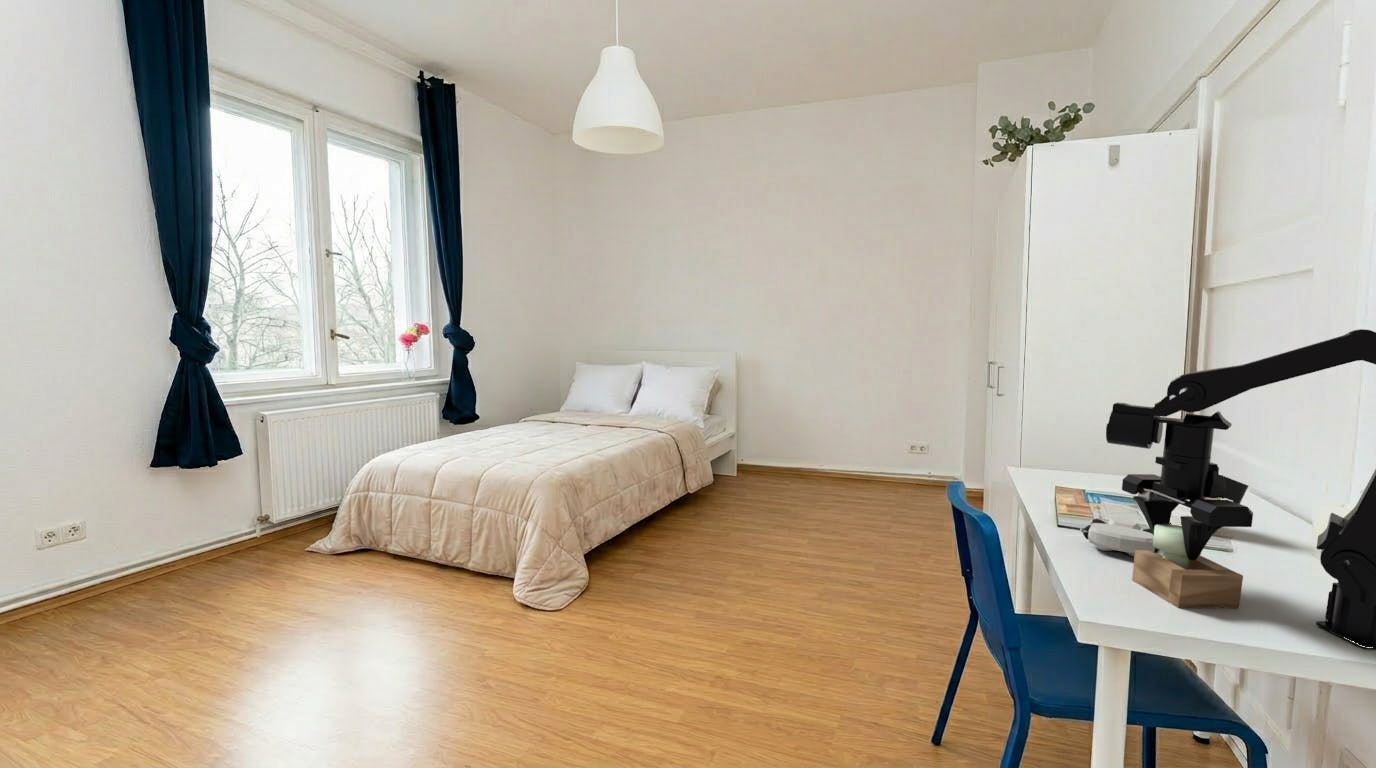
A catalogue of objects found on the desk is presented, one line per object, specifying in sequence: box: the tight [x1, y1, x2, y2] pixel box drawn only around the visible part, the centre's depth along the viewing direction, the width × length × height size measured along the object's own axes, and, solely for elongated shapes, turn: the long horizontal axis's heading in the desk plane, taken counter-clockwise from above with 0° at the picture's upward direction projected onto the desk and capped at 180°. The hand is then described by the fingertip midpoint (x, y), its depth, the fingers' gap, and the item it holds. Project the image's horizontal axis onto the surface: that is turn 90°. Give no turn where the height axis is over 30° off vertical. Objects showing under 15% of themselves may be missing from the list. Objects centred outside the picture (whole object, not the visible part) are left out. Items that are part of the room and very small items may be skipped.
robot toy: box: [1079, 518, 1161, 557], centre depth 116 cm, size 12×4×15 cm
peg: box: [1153, 524, 1202, 570], centre depth 98 cm, size 6×6×6 cm
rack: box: [1131, 550, 1244, 609], centre depth 97 cm, size 10×9×5 cm
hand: (1176, 551), depth 99 cm, fingers closed on peg, 6 cm apart
